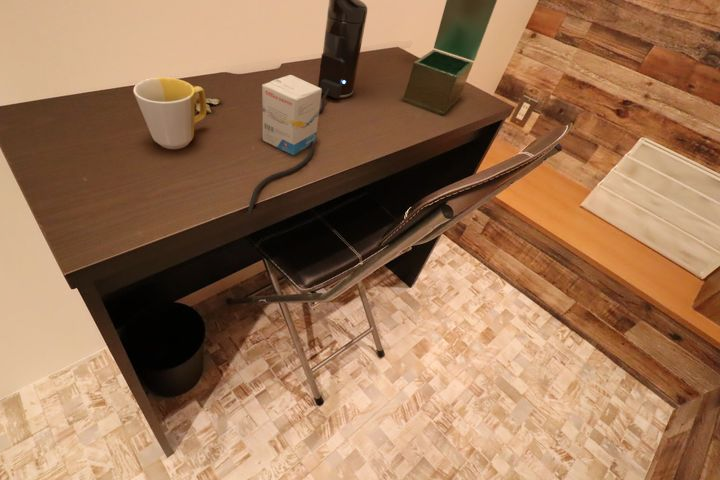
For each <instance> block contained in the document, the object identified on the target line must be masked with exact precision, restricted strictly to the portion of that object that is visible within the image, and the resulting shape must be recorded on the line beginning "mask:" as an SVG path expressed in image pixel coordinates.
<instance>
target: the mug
mask: <svg viewBox="0 0 720 480" xmlns="http://www.w3.org/2000/svg"><path fill="white" fill-rule="evenodd" d="M192 85H193V84H191V83H190V82H187V81H185V80H182V79H179V78H175V77H166V76H165V77H161V76H160V77H151V78H147V79H143V80H141V81H139V82H138V83H136V84H135V85H134V87H133V91H132V92H133V94H134V97H135V99H136V102H137V104H138V107H139V109H140V111H141V114H142V116H143V118H144V122H145V123H146V126H147V129H148V130H149V134H150V135H151V139H152V140H153V141H154V142H155V143H157V144H158V145H160V147H162V148H164V149H169V150H179V149H184V148H185V147H187V146H188V145H189V144H190V143H191V141H192V140H193V139H194V137H195V125H196V124H198V123H199V122H202V120H204V119H205V118H206V116H207V113H206V104H207V103H206V98H207V97H206V93H205V90H204V88H203V87H201V86H199V85H198V86H197V85H195V86H196V87H193V86H192ZM196 93H199V99H200V112H198V114H197V115H195V108H196V106H195V94H196Z"/></svg>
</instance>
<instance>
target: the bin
mask: <svg viewBox="0 0 720 480" xmlns="http://www.w3.org/2000/svg"><path fill="white" fill-rule="evenodd" d="M473 65H474V61H471V60H469V59H465V58H462V57H459V56H456V55H453V54H450V53H447V52H444V51H441V50H437V49H432V50H430V51H429V52H427V53H426V54H425V55H423V56H422V57H421V56H420V57H419V58H418V59H416V60H415V61H414V62H413V64H412V67H411V71H410V73H409V74H410V75H409V78H408V80H407V81H408V82H407V85H406V89H405V92H404V94H403V95H404V96H403V99H402V102H404V103H408V104H410V105H413V106H416V107H418V108H421V109H423V110H426V111H429V112H432V113H433V114H434V113H435V114H437V115H440V116H445V114H446V113H447V112H448V111H449V110H451V108H452V107H453V106H454V105H455V104H456V103H457V102H458V101H459V100H460V98H461V96H462V92H463V90H464V88H465V85H466V83H467V80H468V77H469V75H470V72H471V70H472V68H473Z"/></svg>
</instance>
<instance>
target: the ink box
mask: <svg viewBox="0 0 720 480" xmlns="http://www.w3.org/2000/svg"><path fill="white" fill-rule="evenodd" d="M321 92H322V89H321V88H319V87H318V85H314V84H312V83H310V82H308V81H306V80H304V79H301V78H299V77H297V76H295V75H292V74H288V75H285V76H282V77H279V78H276V79H273V80H271V81H269V82H265V83H263V84H261V96H262V97H261V100H262V103H261V104H262V105H261V107H262V112H261V113H262V141H263V142H265V143H267V144H269V145H271V146H273V147H275V148H277V149H279V150H281V151H283V152H285V153H287V154H289V155H291V156H295V155H297V154H298V153H300V152H302V151H303V150H305V149H307V148H309V147H311V145H310V143H311V142H312V141H313V142H314V144H315V143H316V142H317V133H318V126H319V125H318V124H319V116H320V113H319V109H320V108H321V102H322V94H321Z"/></svg>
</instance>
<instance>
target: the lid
mask: <svg viewBox="0 0 720 480" xmlns="http://www.w3.org/2000/svg"><path fill="white" fill-rule="evenodd" d="M497 2H498V0H445V4H444V8H443V12H442V14H441V15H442V16H441V19H440V23H439V27H438V29H437V30H438V31H437V34H436V37H435V40H434V41H435V42H434V45H433V49H434V50H437V51H440V52H443V53H446V54H449V55H452V56H456V57H459V58H462V59H465V60H468V61H471V62H475V61H476V59H477V56H478V53H479V50H480V47H481V45H482V43H483V39H484V36H485V34H486V32H487V29H488V26H489V24H490V22H491V21H490V20H491V18H492V15H493V13H494V10H495V8H496V4H497Z"/></svg>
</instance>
